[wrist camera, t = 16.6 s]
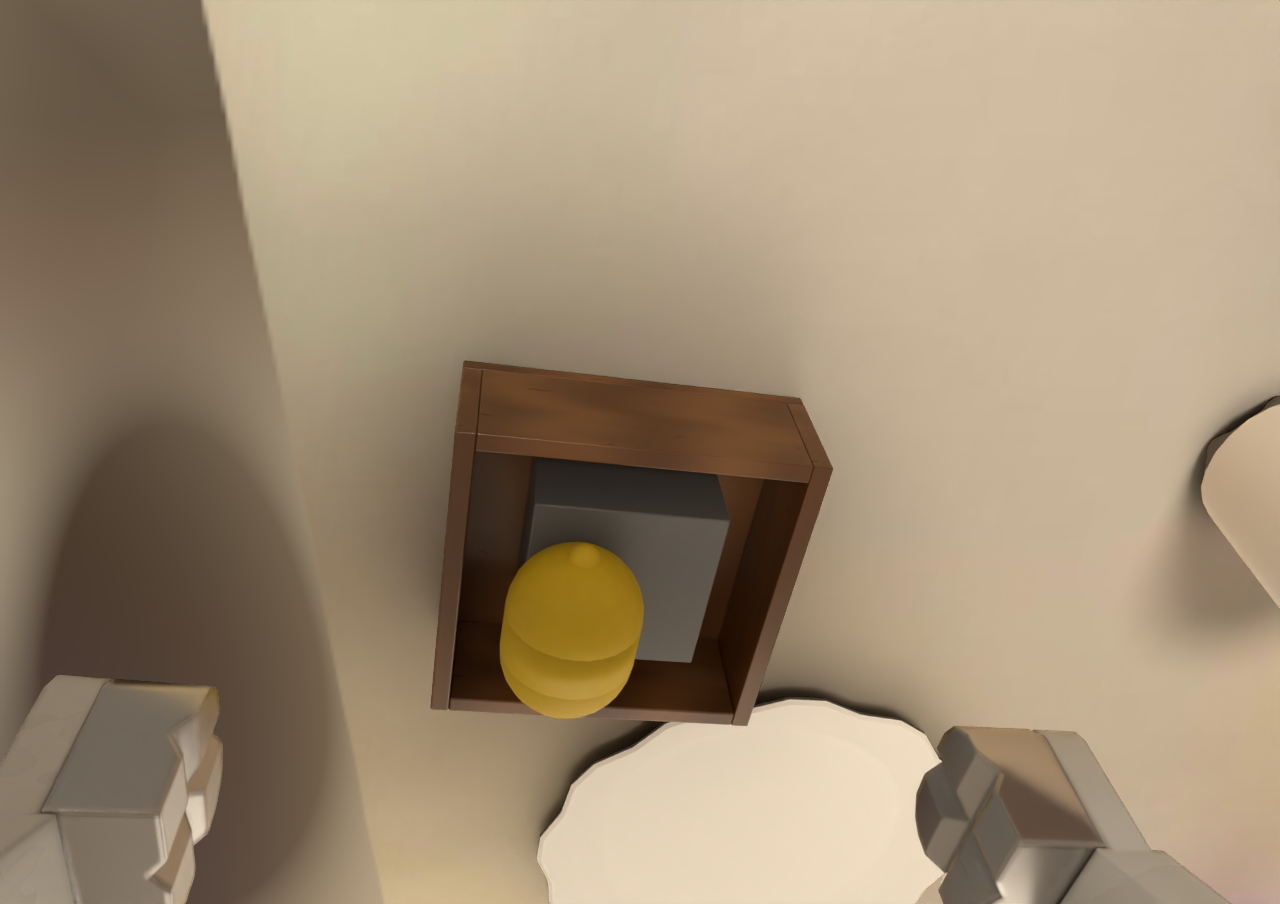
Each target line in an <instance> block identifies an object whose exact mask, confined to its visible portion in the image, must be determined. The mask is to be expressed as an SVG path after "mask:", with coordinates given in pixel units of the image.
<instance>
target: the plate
mask: <svg viewBox="0 0 1280 904" xmlns="http://www.w3.org/2000/svg"><path fill="white" fill-rule="evenodd" d="M942 761H943V760H942V759H941V758H939V757H938V756H937V754H936V752H935V751H934V749H933V747H932V745H931V744H930V742H929V740H928V738H927V736H926V735H925V733H924V732H923V731H921V730H919V729H918V728H916V727H914V726H913V725H911V724H909V723H907V722H906V721H904V720H902V719H900V718H895V717H888V716H881V715H874V714H867V713H860V712H858V711H855V710H853V709H850V708H848V707H845V706H843V705H840V704H838V703H835V702H833V701H830V700H828V699H823V698H801V697H787V698H783V699H779V700H774V701H770V702H766V703H762V704H758V705H754V707H753V710H752V713H751V716H750V719H749V722H748V725H747V726H734V725H731V724H730V725H722V724H703V723H683V722H663V723H662V724H661V725H659V726H658V727H657V728H655V729H654V730H652V731H651V732H650V733H648V734H647V735H645V736H644V737H643V738H641V739H640V740H639V741H637V742H636V743H634V744H633V745H631V746H629V747H626V748H624V749H622V750H620V751H617V752H615V753H613V754H610V755H608V756H606V757H604V758H601V759H599V760H597V761H594V762H593V763H592V764H591V765H590V766H589V767H588V768H587V769H585V770H584V771H583V772H582V773H581V774H580V775H579V776H578V777H577V778H576V779H575V780H574V781H572V782H571V785H570V788H569V790H568V793H567V796H566V798H565V801H564V804H563V806H562V809H561V811H560V812H559V813H558V814H557V816H556V817H555V818H554V819H553V820H552V822H551V823H550V824H549V825H548V826H547V827H546V829H545V830H544V831H543V832H542V833H541V835H540V841H539V847H538V853H537V861H538V863H539V865H540V867H541V869H542V871H543V873H544V875H545V877H546V879H547V881H548V885H549V904H915V903H916V902H917V900H918V899H919V897H920V896H921V895H922V893H923V892H924V890H925V889H926V888H927V887H928V886H929V885H931V884H932V883H933V882H934V881H935V880H936V879H938V878H939V877H940V876H941V875H942V874H943V873H944V872H943V871H942V870H941V869H940V868H939V867H937V866H936V865H935V864H934V863H933V862H932V861H931V860H930V859H929V858H928V857H927V856H926V855H925V853H924V850H923V848H922V845H921V842H920V839H919V836H918V832H917V826H916V820H915V805H916V793H917V790H918V788H919V786H920V783H921V781H922V779H923V776H924V774H925V773H926V772H928V771H929V770H930V769H932V768H933V767H935V766H936V765H938V764H939V763H941V762H942Z"/></svg>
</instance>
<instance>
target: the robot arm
mask: <svg viewBox="0 0 1280 904" xmlns="http://www.w3.org/2000/svg"><path fill="white" fill-rule="evenodd" d="M219 711H220V710H219V701H218V693H217V689H216V688H214V687H212V686H201V685H189V684H176V683H175V684H174V683H163V682H150V681H138V680H125V679H113V678H111V679H102V678H90V677H76V676H62V675H57V676H56V677H55V678H54V679H53V680H52V681H51V682H49V683H48V684H47V685H46V686H45V687H44V688H43V690H42V692H41V694H40V695H39V697H38V699H37V701H36V702H35V704H34V706H33V708H32V709H31V711H30V713H29V715H28V716H27V718H26V720H25V722H24V723H23V725H22V727H21V729H20V730H19V732H18V734H17V736H16V737H15V739H14V741H13V743H12V745H11V746H10V748H9V750H8V751H7V753H6V755H5V757H4V759H3V760H2V762H1V764H0V904H185V903H186V900H187V897H188V893H189V890H190V887H191V884H192V881H193V878H194V875H195V861H194V849H193V845H194V844H195V843H197V842H198V841H199V840H200V839H201V838H203V837H204V836H205V835H206V834H207V833H208V832H209V829H210V825H211V822H212V819H213V815H214V812H215V809H216V804H217V799H218V794H219V789H220V783H221V778H222V777H221V776H222V761H223V753H222V741H221V740H220V739H219V738H218V737H217V736H216V735H215V734H214V733H213V729H214V726H215V723H216V720H217V718H218V714H219ZM937 748H938V751H939V753H940V755H941V758H942V760H943V761H942V762H941V763H939V764H938V765H936V766H935V767H933V768H932V769H930V770H929V771H928V772H926V773H925V774H924V776H923V779H922V781H921V783H920V786H919V788H918V790H917V793H916V805H915V820H916V826H917V832H918V836H919V839H920V842H921V845H922V848H923V850H924V853H925V855H926V856H927V857H928V858H929V859H930V860H931V861H932V862H933V863H934V864H935V865H936V866H937V867H939V868H940V869H941V870H942V871H943V872H944V875H943V878H942V881H941V884H940V887H939V890H938V891H939V893H940V896H941V898H942V901H943V904H1231V903H1230V902H1229V901H1227V900H1226V899H1225V898H1223V897H1222V896H1221V895H1220V894H1218V893H1217V892H1216V891H1214V890H1213V889H1212V888H1210V887H1209V886H1208V885H1207V884H1205V883H1204V882H1203V881H1201V880H1200V879H1199V878H1198V877H1196V876H1195V875H1194V874H1192V873H1191V872H1190V871H1189V870H1187V869H1186V868H1185V867H1183V866H1182V865H1181V864H1180V863H1178V862H1177V861H1176V860H1174V859H1173V858H1172V857H1170V856H1169V855H1168V854H1167V853H1165V852H1164V851H1157V850H1151V849H1150V847H1149V846H1148V844H1147V842H1146V841H1145V839H1144V837H1143V836H1142V834H1141V832H1140V831H1139V829H1138V827H1137V826H1136V824H1135V822H1134V821H1133V819H1132V817H1131V816H1130V814H1129V812H1128V811H1127V809H1126V807H1125V806H1124V804H1123V802H1122V801H1121V799H1120V797H1119V796H1118V794H1117V792H1116V791H1115V789H1114V787H1113V786H1112V784H1111V782H1110V781H1109V779H1108V778H1107V776H1106V774H1105V773H1104V771H1103V769H1102V768H1101V766H1100V764H1099V763H1098V761H1097V759H1096V758H1095V756H1094V754H1093V753H1092V751H1091V749H1090V748H1089V746H1088V744H1087V743H1086V741H1085V740H1084V739H1083V738H1082V737H1081V736H1079V735H1078V734H1077V733H1076V732H1072V731H1051V730H1029V729H1015V728H991V727H968V726H953V727H952V728H951V729H949V730H948V731H947V732H945V734H944V735H943V737H942V739H941V741H940V743H939V745H938V747H937Z"/></svg>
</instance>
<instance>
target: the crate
mask: <svg viewBox="0 0 1280 904" xmlns="http://www.w3.org/2000/svg"><path fill="white" fill-rule="evenodd" d="M533 456H535V457H545V458H556V459H566V460H576V461H587V462H597V463H607V464H618V465H628V466H638V467H649V468H659V469H669V470H680V471H690V472H700V473H711V474H717V476H718V479H719V483H720V486H721V490H722V494H723V497H724V501H725V504H726V508H727V511H728V515H729V519H730V525H729V528H728V532H727V536H726V539H725V543H724V546H723V550H722V554H721V557H720V561H719V564H718V568H717V572H716V575H715V579H714V583H713V586H712V590H711V593H710V597H709V601H708V604H707V608H706V611H705V615H704V619H703V622H702V626H701V629H700V633H699V637H698V640H697V644H696V647H695V651H694V655H693V658H692V661H691V662H690V663H687V662H671V661H655V660H639V659H635V660H634V664H633V668H632V670H631V673H630V676H629V678H628V681H627V683H626V684H625V686H624V687H623V689H622V690H621V691H620V693H619V694H618V695H617V697H616V698H615V699H613V700H612V701H611V702H610V703H609V704H608V705H606V706H605V707H603V708H602V709H600V710H598V711H597V712H595V713H592V714H589V715H587V716H583V717H587V718H607V719H626V720H645V721H664V722H683V723H703V724H722V725H730V724H731V725H734V726H747V725H748V722H749V719H750V716H751V713H752V710H753V707H754V704H755V701H756V698H757V695H758V692H759V689H760V686H761V683H762V680H763V677H764V674H765V671H766V668H767V665H768V662H769V659H770V656H771V653H772V650H773V647H774V644H775V641H776V638H777V635H778V632H779V629H780V626H781V624H782V621H783V618H784V615H785V612H786V609H787V606H788V603H789V600H790V597H791V594H792V591H793V588H794V585H795V582H796V579H797V576H798V573H799V570H800V567H801V564H802V561H803V558H804V555H805V552H806V549H807V546H808V543H809V540H810V537H811V534H812V531H813V528H814V525H815V522H816V519H817V516H818V513H819V510H820V507H821V504H822V501H823V498H824V495H825V492H826V489H827V486H828V483H829V480H830V477H831V474H832V471H833V467H832V465H831V463H830V461H829V459H828V457H827V454H826V452H825V450H824V448H823V446H822V444H821V441H820V439H819V437H818V435H817V433H816V430H815V428H814V426H813V424H812V422H811V420H810V417H809V415H808V413H807V411H806V409H805V407H804V405H803V403H802V400H801V399H800V398H793V397H784V396H775V395H766V394H757V393H748V392H739V391H730V390H722V389H713V388H704V387H695V386H686V385H677V384H668V383H659V382H650V381H641V380H632V379H623V378H614V377H606V376H597V375H588V374H579V373H570V372H561V371H552V370H543V369H534V368H525V367H516V366H507V365H498V364H489V363H481V362H472V361H464V364H463V372H462V379H461V387H460V395H459V403H458V411H457V419H456V427H455V435H454V447H453V458H452V469H451V481H450V492H449V503H448V515H447V526H446V537H445V548H444V560H443V571H442V582H441V594H440V605H439V616H438V627H437V639H436V650H435V661H434V673H433V684H432V695H431V706H430V707H431V709H434V710H448V708H449V710H453V711H472V712H491V713H510V714H530V715H543V714H541V713H539V712H537V711H535V710H533V709H531V708H530V707H528V706H527V705H526V704H524V703H523V702H522V701H521V700H520V699H519V698H518V697H517V696H516V695H515V694H514V692H513V691H512V689H511V688H510V686H509V684H508V683H507V681H506V679H505V676H504V673H503V670H502V666H501V663H500V638H501V631H502V623H503V616H504V608H505V602H506V598H507V594H508V590H509V587H510V585H511V583H512V581H513V579H514V577H515V576H516V572H517V565H518V558H519V551H520V544H521V537H522V529H523V522H524V515H525V508H526V501H527V494H528V487H529V479H530V472H531V465H532V458H533Z"/></svg>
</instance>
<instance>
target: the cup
mask: <svg viewBox="0 0 1280 904" xmlns="http://www.w3.org/2000/svg"><path fill="white" fill-rule="evenodd" d="M1201 493H1202V501H1203V506H1204V507H1205V509H1206V510H1207V512H1208V514H1209V516H1210V517H1211V518H1212V520H1213V521H1214V522H1215V524H1216V525H1217V526H1218V528H1219V529H1220V530H1221V532H1222V533H1223V534H1224V536H1225V537H1226V538H1227V540H1228V541H1229V542H1230V544H1231V545H1232V546H1233V548H1234V549H1235V550H1236V551H1237V553H1238V554H1239V555H1240V557H1241V558H1242V559H1243V561H1244V562H1245V563H1246V565H1247V566H1248V567H1249V569H1250V570H1251V571H1252V573H1253V574H1254V575H1255V577H1256V578H1257V579H1258V581H1259V582H1260V583H1261V585H1262V586H1263V587H1264V589H1265V590H1266V591H1267V592H1268V594H1269V595H1270V596H1271V598H1272V599H1273V600H1274V602H1275V603H1276V604H1277V606H1278V607H1279V608H1280V396H1277V397H1274V398H1273V399H1272V400H1271V401H1270V402H1268V403H1267V404H1266V405H1265V407H1264V409H1263V410H1261V411H1260V412H1259V413H1257V414H1256V415H1255V416H1253V417H1252V418H1250V419H1248V420H1247V421H1246V422H1245V423H1243V424H1242V425H1240V426H1239V427H1237V428H1235V429H1234V430H1232V431H1231V432H1229V433H1225V434H1223V435H1221V436H1219V437H1217V438H1215V439H1213V440H1212V442H1211V443H1210V445H1209V446H1208V448H1207V459H1206V464H1205V471H1204V478H1203V481H1202V485H1201Z"/></svg>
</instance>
